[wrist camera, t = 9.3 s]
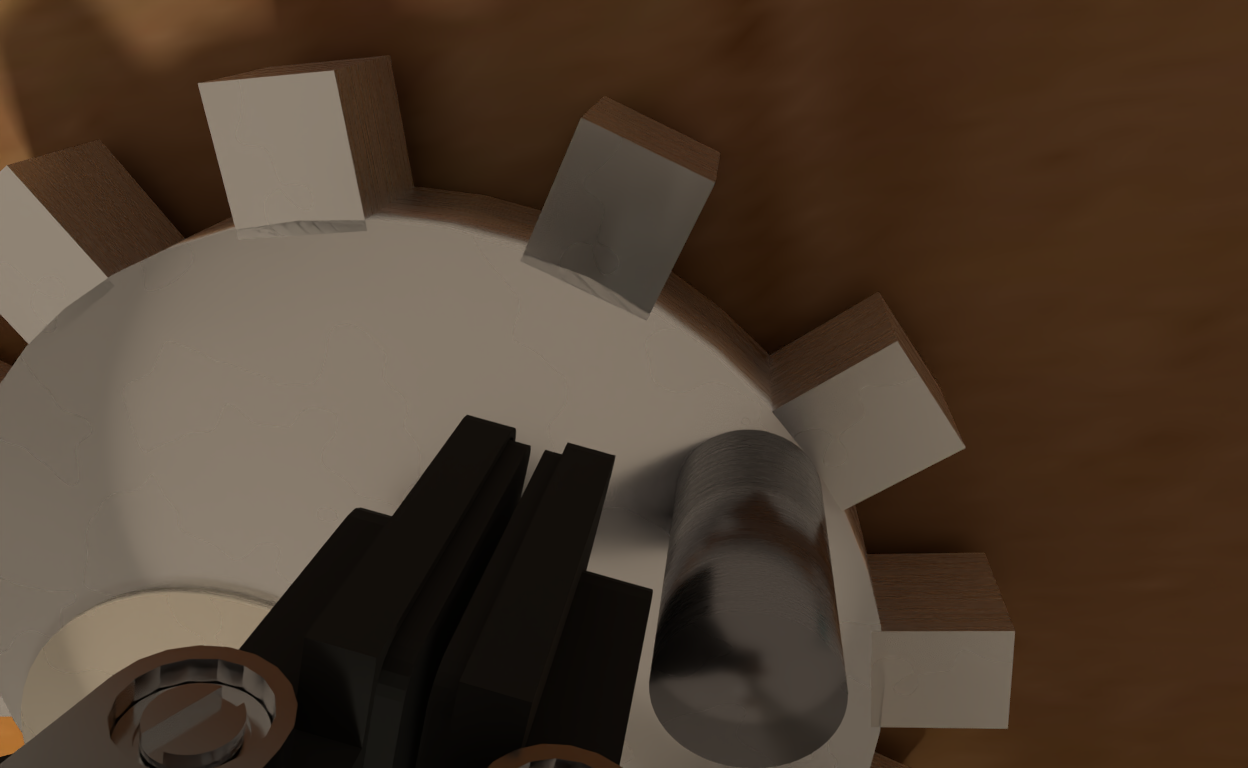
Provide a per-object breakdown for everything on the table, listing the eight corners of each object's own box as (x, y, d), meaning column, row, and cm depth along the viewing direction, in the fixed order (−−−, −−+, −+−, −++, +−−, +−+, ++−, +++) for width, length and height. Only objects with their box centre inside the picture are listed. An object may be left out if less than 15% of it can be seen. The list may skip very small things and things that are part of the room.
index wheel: (395, 1046, 23) (283, 1388, 17) (-247, 455, 18) (-684, 673, 12) (1176, 759, 17) (1380, 1145, 11) (531, -255, 12) (341, -434, 6)
